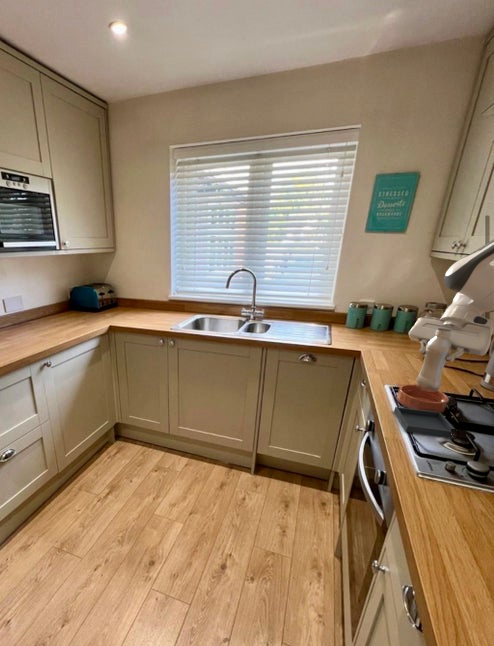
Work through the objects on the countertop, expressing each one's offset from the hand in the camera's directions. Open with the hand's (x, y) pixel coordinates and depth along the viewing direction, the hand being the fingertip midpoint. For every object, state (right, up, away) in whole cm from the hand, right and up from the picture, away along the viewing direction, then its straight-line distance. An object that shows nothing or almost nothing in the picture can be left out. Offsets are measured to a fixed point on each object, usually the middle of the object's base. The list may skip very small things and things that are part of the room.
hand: (434, 357), depth 101 cm
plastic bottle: (+1, -11, +5) cm, 12 cm away
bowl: (0, -15, +7) cm, 17 cm away
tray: (-7, -20, -5) cm, 22 cm away
